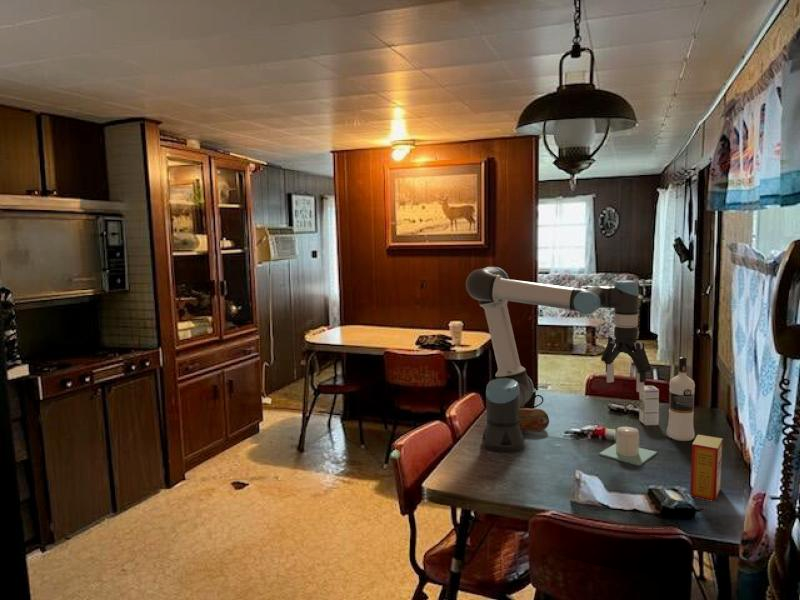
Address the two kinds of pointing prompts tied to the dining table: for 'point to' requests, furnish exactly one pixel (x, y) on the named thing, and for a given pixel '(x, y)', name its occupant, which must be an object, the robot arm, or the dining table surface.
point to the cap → (627, 441)
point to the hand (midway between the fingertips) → (624, 386)
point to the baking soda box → (706, 467)
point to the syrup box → (649, 405)
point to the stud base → (635, 460)
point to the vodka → (681, 405)
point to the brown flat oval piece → (533, 419)
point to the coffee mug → (532, 401)
